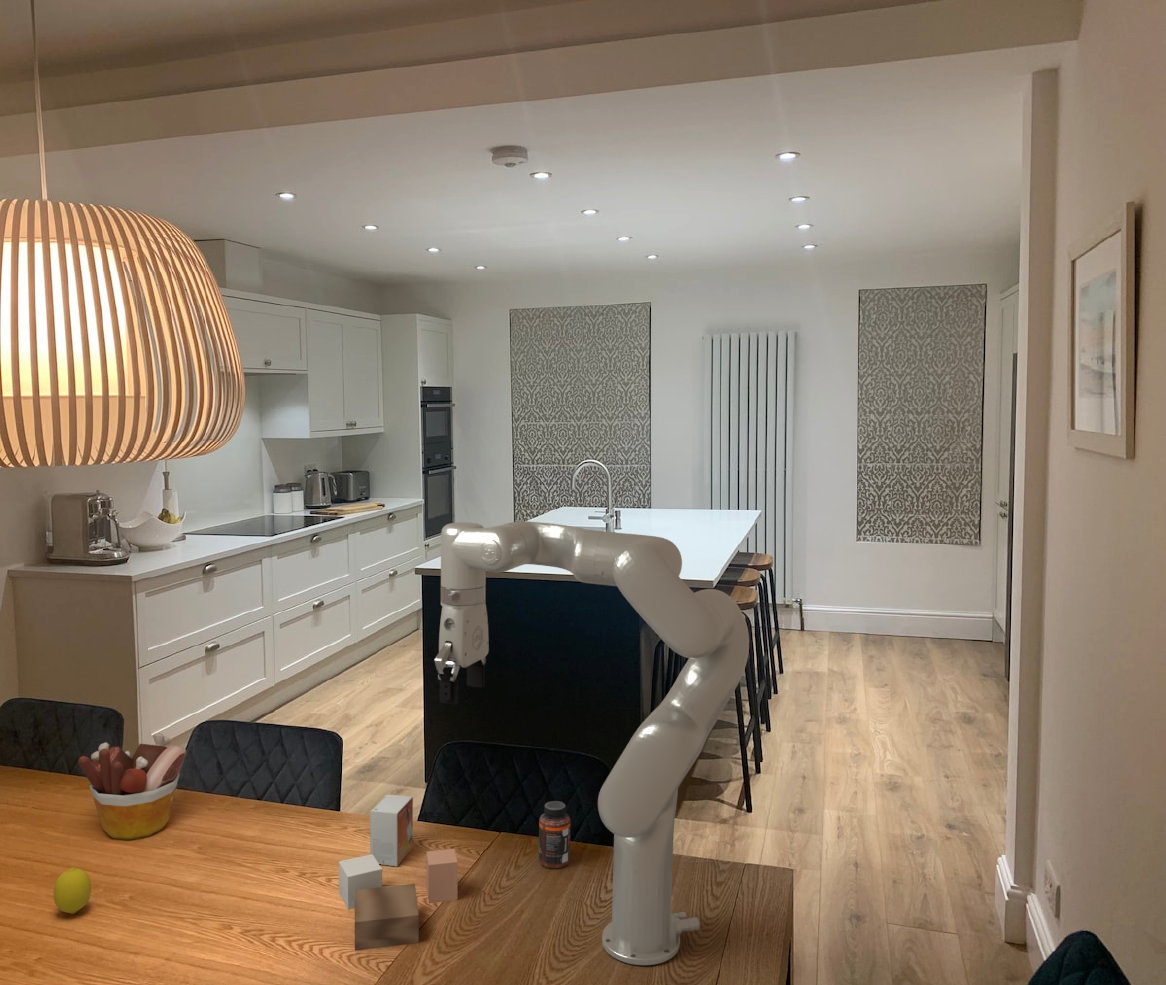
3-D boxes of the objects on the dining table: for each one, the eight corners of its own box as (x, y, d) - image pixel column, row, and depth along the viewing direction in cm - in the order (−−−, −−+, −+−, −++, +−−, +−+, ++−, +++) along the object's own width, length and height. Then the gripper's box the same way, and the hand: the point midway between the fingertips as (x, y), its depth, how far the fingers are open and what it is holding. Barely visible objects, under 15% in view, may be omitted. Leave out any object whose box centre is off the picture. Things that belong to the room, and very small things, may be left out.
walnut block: (414, 911, 156) (414, 883, 156) (418, 944, 147) (418, 914, 146) (354, 917, 154) (354, 889, 154) (354, 952, 144) (354, 922, 144)
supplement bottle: (574, 866, 172) (575, 809, 171) (544, 872, 170) (545, 813, 169) (563, 852, 178) (564, 796, 177) (534, 857, 175) (535, 800, 174)
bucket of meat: (133, 804, 195) (131, 714, 194) (201, 812, 192) (200, 721, 190) (62, 847, 176) (58, 747, 174) (136, 857, 172) (133, 756, 171)
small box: (397, 867, 170) (397, 813, 170) (369, 864, 172) (369, 810, 171) (413, 847, 178) (413, 796, 177) (386, 844, 179) (386, 793, 178)
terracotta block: (454, 885, 165) (454, 848, 164) (457, 900, 160) (457, 861, 159) (426, 888, 163) (426, 851, 163) (428, 903, 158) (428, 864, 158)
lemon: (57, 907, 155) (55, 862, 154) (94, 902, 157) (92, 857, 156) (51, 925, 150) (49, 878, 149) (89, 919, 152) (87, 873, 151)
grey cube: (372, 885, 164) (372, 853, 164) (382, 901, 159) (382, 868, 158) (339, 893, 161) (338, 861, 161) (347, 910, 156) (347, 876, 155)
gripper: (458, 607, 145) (458, 712, 146) (504, 588, 161) (503, 683, 162) (417, 603, 147) (417, 706, 149) (466, 585, 163) (466, 678, 165)
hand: (462, 694), depth 155 cm, fingers open, 9 cm apart
